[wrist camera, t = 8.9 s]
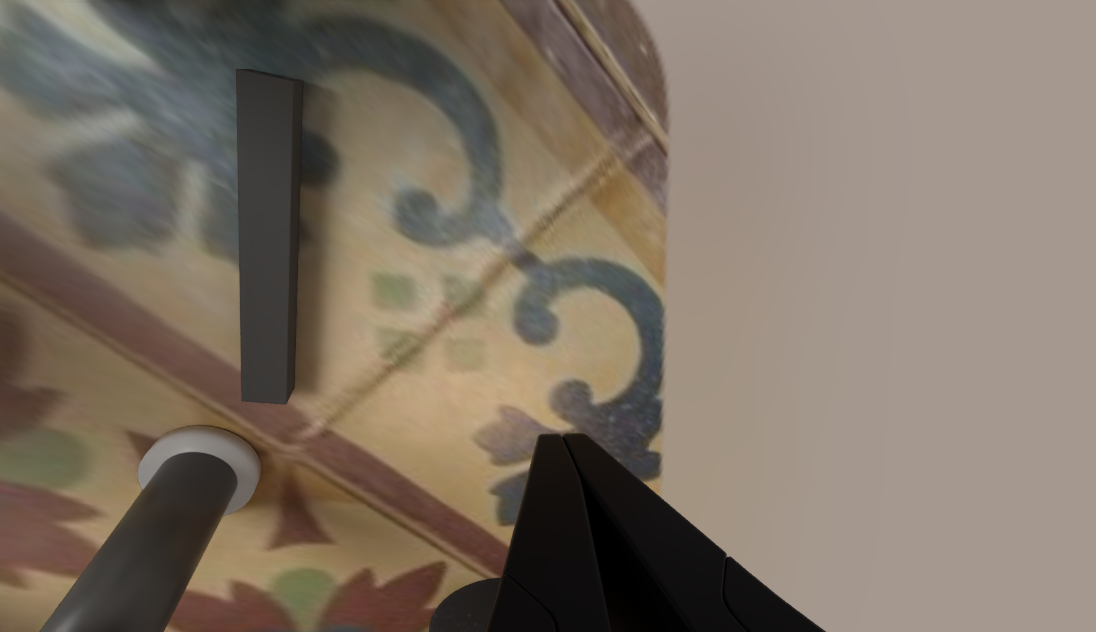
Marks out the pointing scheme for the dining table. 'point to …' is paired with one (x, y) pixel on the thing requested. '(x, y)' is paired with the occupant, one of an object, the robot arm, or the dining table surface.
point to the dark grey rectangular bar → (268, 231)
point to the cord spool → (161, 533)
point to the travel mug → (466, 608)
